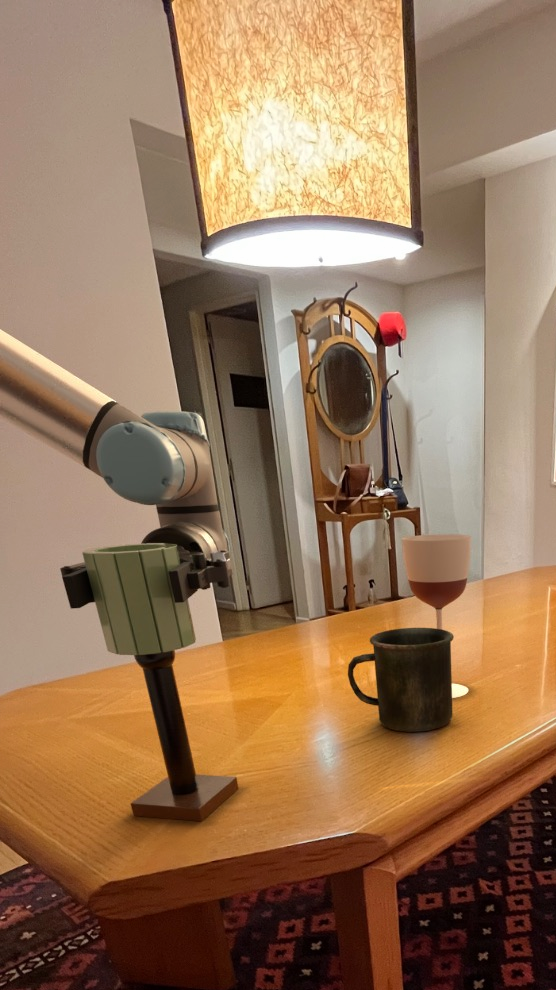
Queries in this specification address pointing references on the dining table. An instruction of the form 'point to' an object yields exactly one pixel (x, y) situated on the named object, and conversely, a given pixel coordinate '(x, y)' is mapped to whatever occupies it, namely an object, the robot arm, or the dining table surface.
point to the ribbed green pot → (138, 598)
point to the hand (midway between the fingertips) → (124, 589)
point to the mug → (410, 678)
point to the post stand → (176, 753)
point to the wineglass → (438, 573)
